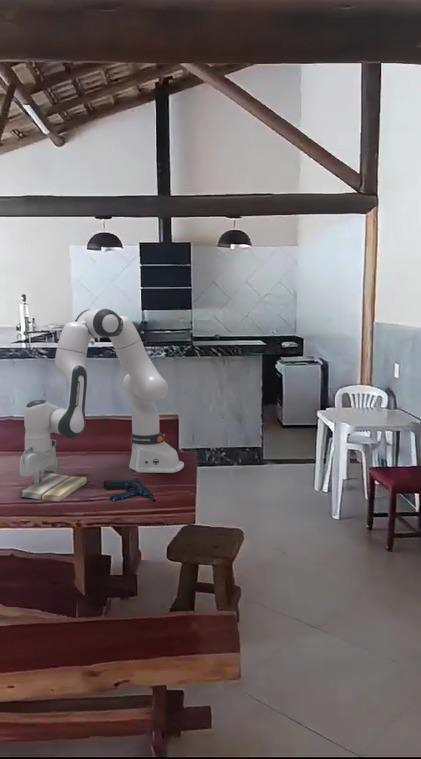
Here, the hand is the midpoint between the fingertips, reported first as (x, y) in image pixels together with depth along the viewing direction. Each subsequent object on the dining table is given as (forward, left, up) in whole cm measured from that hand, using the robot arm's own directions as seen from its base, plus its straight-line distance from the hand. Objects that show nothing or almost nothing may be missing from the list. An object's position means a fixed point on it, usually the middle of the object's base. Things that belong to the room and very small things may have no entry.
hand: (38, 482), depth 235 cm
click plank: (-3, 0, -2) cm, 3 cm away
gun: (-34, -3, -3) cm, 34 cm away
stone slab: (+12, -29, -3) cm, 32 cm away
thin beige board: (-10, 0, -3) cm, 11 cm away
